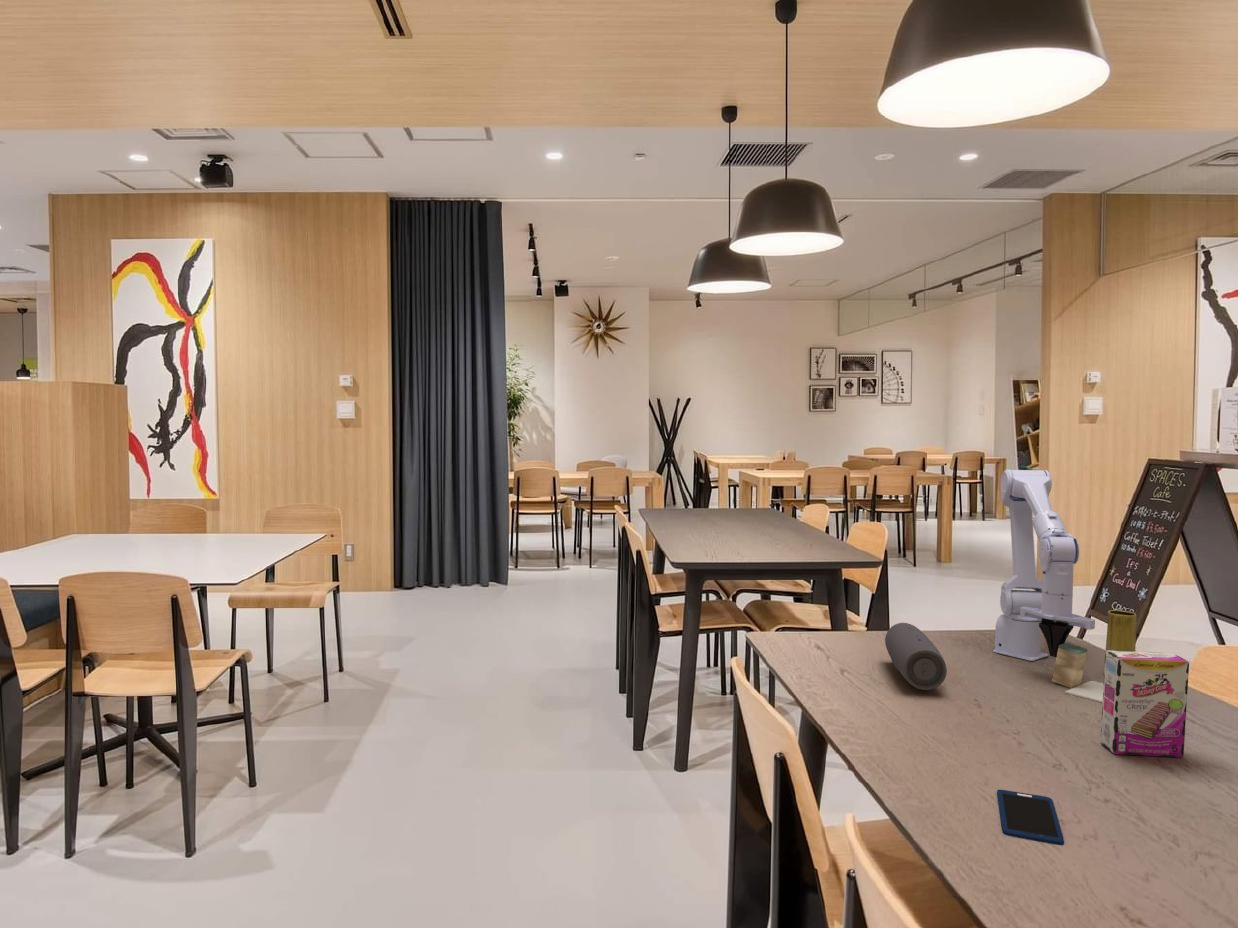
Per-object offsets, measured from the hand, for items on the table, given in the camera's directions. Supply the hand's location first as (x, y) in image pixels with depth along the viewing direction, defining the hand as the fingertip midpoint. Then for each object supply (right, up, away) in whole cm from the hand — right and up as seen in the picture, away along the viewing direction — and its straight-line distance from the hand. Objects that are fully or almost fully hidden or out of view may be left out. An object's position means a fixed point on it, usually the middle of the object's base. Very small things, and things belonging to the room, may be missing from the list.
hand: (1055, 655), depth 170 cm
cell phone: (-36, -9, -59) cm, 69 cm away
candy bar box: (-5, -7, -36) cm, 37 cm away
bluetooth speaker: (-30, -6, +2) cm, 30 cm away
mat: (+6, -6, -7) cm, 11 cm away
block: (+1, -5, -2) cm, 6 cm away
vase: (+16, -6, +3) cm, 17 cm away
